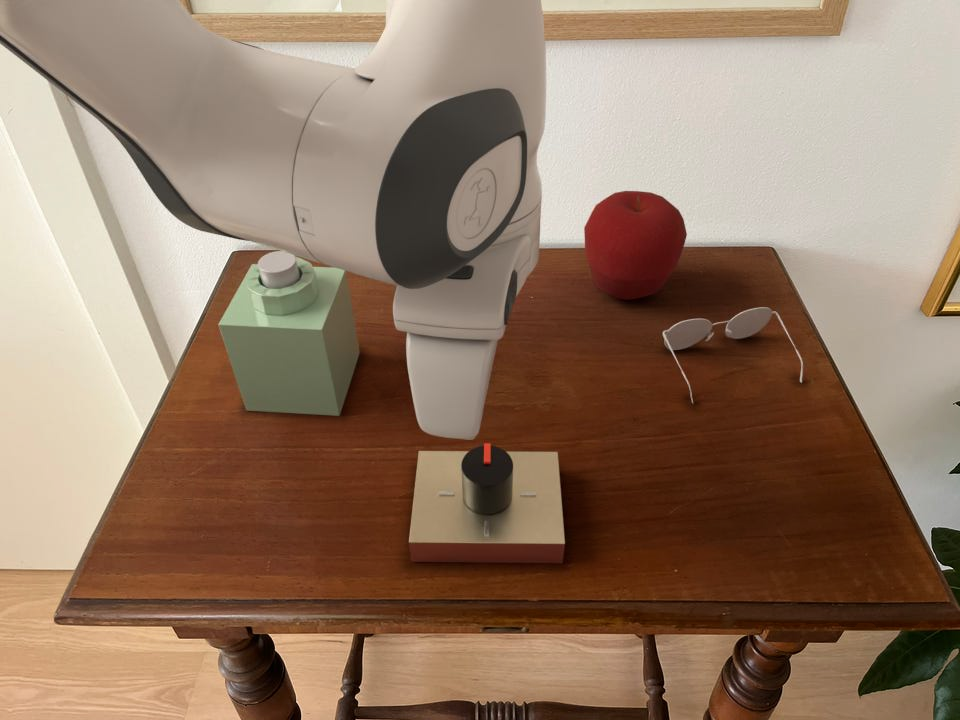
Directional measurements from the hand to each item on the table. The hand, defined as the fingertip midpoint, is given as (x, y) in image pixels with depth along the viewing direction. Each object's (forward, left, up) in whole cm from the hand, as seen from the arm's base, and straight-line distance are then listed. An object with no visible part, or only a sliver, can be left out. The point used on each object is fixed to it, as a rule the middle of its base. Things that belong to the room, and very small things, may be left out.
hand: (475, 386), depth 56 cm
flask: (+6, +25, -16) cm, 30 cm away
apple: (+38, 0, -16) cm, 41 cm away
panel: (0, -1, -16) cm, 16 cm away
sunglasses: (+30, -15, -16) cm, 37 cm away
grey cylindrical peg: (+6, +25, -2) cm, 26 cm away
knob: (0, -1, -13) cm, 13 cm away
